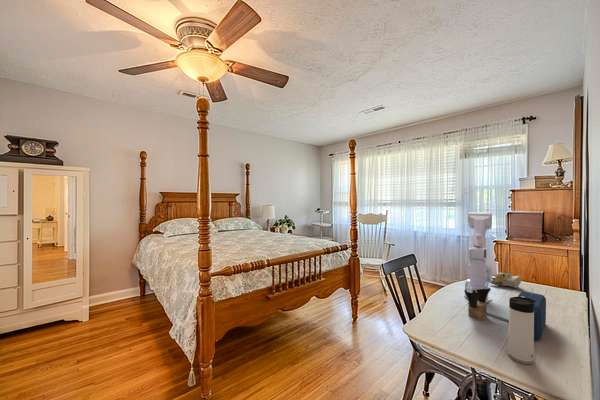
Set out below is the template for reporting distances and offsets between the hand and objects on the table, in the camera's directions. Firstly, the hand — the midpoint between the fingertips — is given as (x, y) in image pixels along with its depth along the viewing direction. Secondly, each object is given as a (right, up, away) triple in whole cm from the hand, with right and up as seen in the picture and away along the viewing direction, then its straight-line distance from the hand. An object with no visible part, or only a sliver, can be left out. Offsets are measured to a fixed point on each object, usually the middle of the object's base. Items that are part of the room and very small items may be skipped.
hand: (477, 305), depth 115 cm
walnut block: (0, -5, 0) cm, 5 cm away
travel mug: (-5, -6, -29) cm, 30 cm away
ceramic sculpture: (+40, -3, +35) cm, 53 cm away
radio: (+13, -5, -11) cm, 18 cm away
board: (+12, -4, +3) cm, 14 cm away
